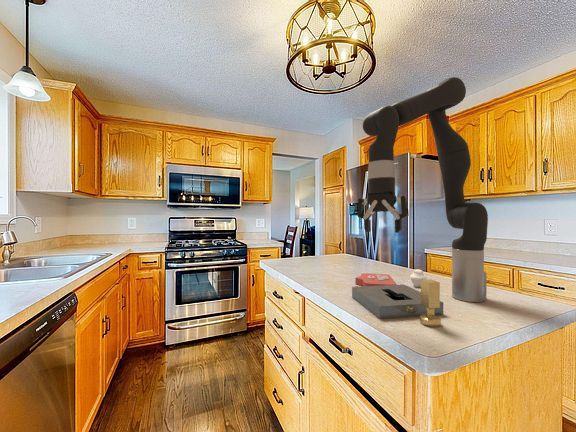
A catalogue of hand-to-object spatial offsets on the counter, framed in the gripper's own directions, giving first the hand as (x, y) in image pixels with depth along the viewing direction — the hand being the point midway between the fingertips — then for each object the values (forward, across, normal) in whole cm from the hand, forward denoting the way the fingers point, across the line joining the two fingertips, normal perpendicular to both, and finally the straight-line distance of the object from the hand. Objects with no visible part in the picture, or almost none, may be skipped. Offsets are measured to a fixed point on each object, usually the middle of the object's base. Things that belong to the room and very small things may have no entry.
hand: (382, 232), depth 79 cm
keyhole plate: (+24, 0, -9) cm, 26 cm away
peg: (+24, -12, 0) cm, 27 cm away
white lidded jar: (+25, -2, -38) cm, 46 cm away
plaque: (+25, +14, -29) cm, 41 cm away
